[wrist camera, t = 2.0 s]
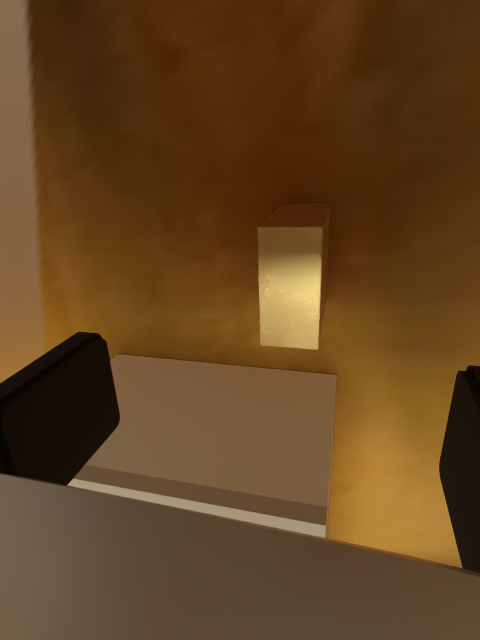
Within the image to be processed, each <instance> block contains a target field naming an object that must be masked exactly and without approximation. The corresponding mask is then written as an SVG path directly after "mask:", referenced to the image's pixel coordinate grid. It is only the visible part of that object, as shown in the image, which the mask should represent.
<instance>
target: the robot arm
mask: <svg viewBox="0 0 480 640" xmlns="http://www.w3.org/2000/svg"><path fill="white" fill-rule="evenodd" d="M119 421H120V412H119V406H118V401H117V395H116V390H115V385H114V379H113V374H112V369H111V363H110V358H109V352H108V347H107V343H106V341H105V340H104V339H102V337H101V335H99V334H98V333H88V332H78V333H76V334H74V335H73V336H71V337H70V338H68V339H67V340H65V341H64V342H62V343H61V344H59V345H58V346H56V347H55V348H53V349H52V350H50V351H49V352H47V353H46V354H44V355H43V356H41V357H40V358H38V359H37V360H35V361H34V362H32V363H31V364H29V365H28V366H26V367H24V368H23V369H22V370H20V371H19V372H17V373H15V374H14V375H12V376H11V377H9V378H8V379H6V380H5V381H4V382H2V383H0V640H480V366H470V365H469V366H468V367H467V369H466V371H458V373H457V376H456V381H455V386H454V391H453V396H452V401H451V406H450V411H449V416H448V422H447V427H446V432H445V437H444V442H443V447H442V452H441V457H440V463H439V472H440V479H441V483H442V487H443V491H444V495H445V499H446V503H447V507H448V511H449V515H450V519H451V523H452V527H453V531H454V535H455V539H456V543H457V547H458V551H459V555H460V559H461V564H462V568H463V569H462V568H458V567H454V566H450V565H446V564H442V563H437V562H433V561H429V560H425V559H421V558H417V557H413V556H409V555H405V554H400V553H394V552H390V551H385V550H380V549H375V548H371V547H366V546H361V545H356V544H352V543H347V542H342V541H337V540H332V539H328V538H323V537H318V536H313V535H308V534H304V533H299V532H294V531H289V530H284V529H279V528H275V527H270V526H265V525H260V524H255V523H251V522H246V521H241V520H236V519H231V518H226V517H222V516H217V515H212V514H207V513H202V512H197V511H192V510H187V509H182V508H177V507H172V506H167V505H162V504H157V503H152V502H147V501H142V500H137V499H132V498H127V497H122V496H117V495H112V494H107V493H102V492H97V491H92V490H87V489H82V488H77V487H72V486H67V485H68V484H69V483H70V482H71V481H72V479H73V478H74V477H75V476H76V475H77V474H78V472H79V471H80V470H81V469H82V468H83V467H84V465H85V464H86V463H87V462H88V461H89V460H90V458H91V457H92V456H93V455H94V454H95V453H96V451H97V450H98V449H99V448H100V447H101V446H102V444H103V443H104V442H105V441H106V440H107V439H108V437H109V436H110V435H111V434H112V433H113V432H114V430H115V429H116V428H117V427H118V424H119Z"/></svg>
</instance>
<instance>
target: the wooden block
mask: <svg viewBox="0 0 480 640" xmlns="http://www.w3.org/2000/svg"><path fill="white" fill-rule="evenodd" d="M330 205H331V203H322V204H280V205H279V206H278V207H277V208H276V209H275V210H274V211H273V212H272V213H271V214H270V215H269V216H268V217H267V218H266V219H265V220H264V221H263V222H262V223H261V224H260V225H259V226H258V227H257V232H258V268H259V303H260V338H261V345H264V346H277V347H289V348H302V349H315V350H318V347H319V341H320V335H321V329H322V322H323V316H324V310H325V304H326V292H327V270H328V248H329V226H330Z"/></svg>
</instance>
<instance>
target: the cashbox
mask: <svg viewBox="0 0 480 640" xmlns="http://www.w3.org/2000/svg"><path fill="white" fill-rule="evenodd" d="M110 363H111V369H112V374H113V379H114V385H115V390H116V395H117V401H118V406H119V412H120V421H119V424H118V427H117V428H116V429H115V430H114V432H113V433H112V434H111V435H110V436H109V437H108V439H107V440H106V441H105V442H104V443H103V444H102V446H101V447H100V448H99V449H98V450H97V451H96V453H95V454H94V455H93V456H92V457H91V458H90V460H89V461H88V462H87V463H86V464H85V465H84V467H83V468H82V469H81V470H80V471H79V472H78V474H77V475H76V476H75V477H74V478H73V479H72V481H71V482H70V483H69V484H68V485H67V486H72V487H77V488H82V489H87V490H92V491H97V492H102V493H107V494H112V495H117V496H122V497H127V498H132V499H137V500H142V501H147V502H152V503H157V504H162V505H167V506H172V507H177V508H182V509H187V510H192V511H197V512H202V513H207V514H212V515H217V516H222V517H226V518H231V519H236V520H241V521H246V522H251V523H255V524H260V525H265V526H270V527H275V528H279V529H284V530H289V531H294V532H299V533H304V534H308V535H313V536H318V537H323V538H327V526H328V510H329V494H330V478H331V462H332V446H333V430H334V415H335V399H336V383H337V375H333V374H322V373H312V372H301V371H290V370H280V369H269V368H259V367H248V366H238V365H227V364H217V363H206V362H195V361H185V360H174V359H164V358H153V357H143V356H132V355H122V354H118V355H117V356H116V357H115V358H114V359H112V360H111V361H110Z"/></svg>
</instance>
